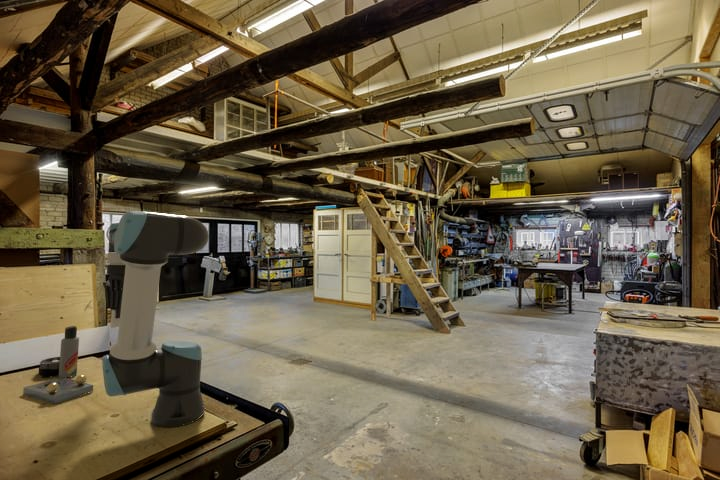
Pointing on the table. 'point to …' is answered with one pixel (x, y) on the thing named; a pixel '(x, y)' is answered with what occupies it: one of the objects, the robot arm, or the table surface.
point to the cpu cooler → (49, 367)
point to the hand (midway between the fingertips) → (115, 326)
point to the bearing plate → (64, 392)
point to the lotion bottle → (69, 353)
